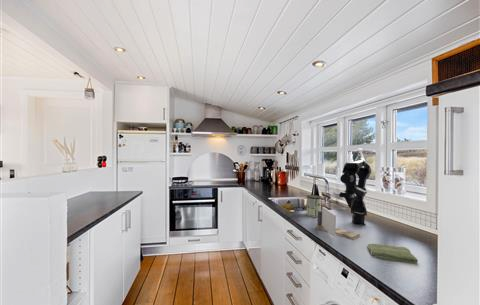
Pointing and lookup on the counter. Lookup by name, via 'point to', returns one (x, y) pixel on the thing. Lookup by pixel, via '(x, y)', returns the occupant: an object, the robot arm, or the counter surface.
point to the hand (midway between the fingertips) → (350, 207)
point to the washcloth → (392, 253)
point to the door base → (338, 231)
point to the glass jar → (313, 205)
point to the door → (328, 221)
